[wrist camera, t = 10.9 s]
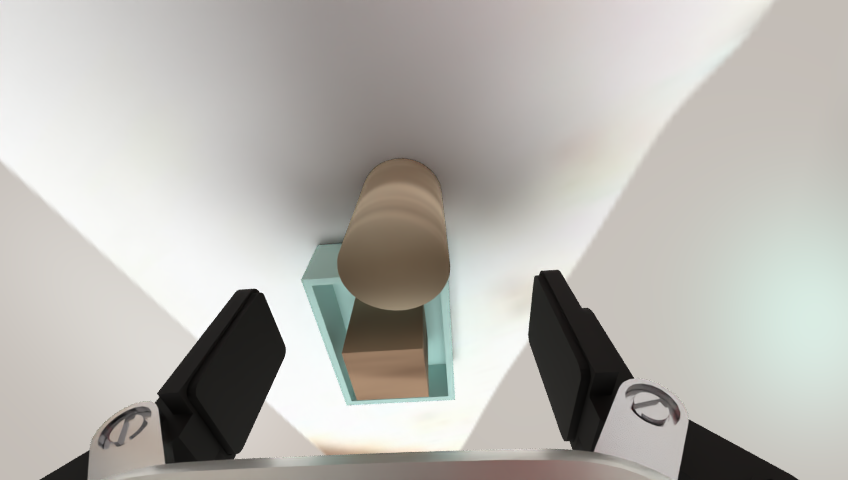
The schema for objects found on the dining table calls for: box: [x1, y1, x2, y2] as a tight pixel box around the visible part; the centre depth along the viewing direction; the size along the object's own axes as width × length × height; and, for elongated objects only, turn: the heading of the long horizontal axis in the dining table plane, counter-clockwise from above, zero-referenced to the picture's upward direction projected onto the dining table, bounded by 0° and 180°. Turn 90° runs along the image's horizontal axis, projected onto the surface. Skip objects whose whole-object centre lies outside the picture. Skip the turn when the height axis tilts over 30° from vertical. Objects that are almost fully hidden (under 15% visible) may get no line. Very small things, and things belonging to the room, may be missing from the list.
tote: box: [301, 243, 455, 405], centre depth 20 cm, size 10×7×3 cm, turn 5°
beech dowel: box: [337, 158, 450, 310], centre depth 14 cm, size 4×4×6 cm
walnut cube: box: [342, 297, 429, 400], centre depth 19 cm, size 4×4×4 cm
